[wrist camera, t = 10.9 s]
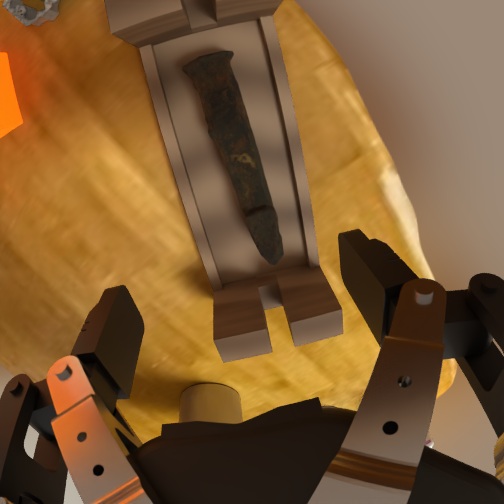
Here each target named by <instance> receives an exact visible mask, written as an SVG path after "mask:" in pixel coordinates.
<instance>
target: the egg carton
mask: <svg viewBox="0 0 504 504" xmlns="http://www.w3.org/2000/svg"><path fill="white" fill-rule="evenodd" d="M41 1H45V3H44V5H45V9H44V10H41V11H39V12H38V13H37V10H36V9H35V8H32V7H28V6H26V5H24V4H22V0H5V1H4V2H3V5H2V6H3V7H5V8H6V9H7V11H9V12H10V13H11V14H12V15H13V16H14V17H16V18H17V20H19V21H20V22H22V23H23V24H24V25H25V26H29V25H30V24H33V25H36V26H40V25H41V24H42V23H44V22H46V21H54V20H55V19H56V17H57V16H58V15H59V12H58V9H57V7H58V4H59V2H60V0H41Z"/></svg>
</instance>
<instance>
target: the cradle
mask: <svg viewBox="0 0 504 504" xmlns="http://www.w3.org/2000/svg"><path fill="white" fill-rule="evenodd" d="M282 1H283V0H104V2H105V7H106V12H107V17H108V22H109V26H110V31H111V34H113V35H115V36H117V37H119V38H121V39H122V40H124V41H126V42H128V43H130V44H132V45H134V46H136V47H138V48H139V50H140V54H141V58H142V62H143V66H144V70H145V74H146V78H147V82H148V85H149V89H150V93H151V97H152V100H153V104H154V108H155V111H156V115H157V118H158V122H159V125H160V129H161V132H162V136H163V139H164V142H165V146H166V149H167V153H168V156H169V159H170V163H171V166H172V169H173V172H174V176H175V179H176V182H177V185H178V188H179V191H180V195H181V198H182V201H183V204H184V207H185V210H186V213H187V216H188V219H189V222H190V225H191V228H192V231H193V234H194V237H195V240H196V243H197V246H198V249H199V252H200V255H201V258H202V261H203V263H204V266H205V269H206V272H207V275H208V278H209V280H210V283H211V286H212V289H213V292H214V303H213V340H214V343H215V345H216V347H217V350H218V352H219V354H220V356H221V359H222V361H223V363H225V362H230V361H235V360H240V359H245V358H249V357H254V356H259V355H263V354H267V353H272V352H273V351H272V346H271V341H270V337H269V332H268V327H267V322H266V317H265V312H264V310H267V309H271V308H276V307H280V306H283V307H284V310H285V314H286V318H287V321H288V325H289V328H290V332H291V335H292V339H293V342H294V346H295V347H297V346H301V345H304V344H308V343H312V342H316V341H320V340H323V339H327V338H330V337H334V336H337V335H341V334H343V315H342V308H341V306H340V304H339V302H338V300H337V298H336V296H335V294H334V292H333V290H332V288H331V286H330V285H329V283H328V281H327V279H326V277H325V275H324V273H323V271H322V269H321V268H320V264H319V256H318V248H317V241H316V234H315V226H314V219H313V213H312V206H311V199H310V193H309V187H308V181H307V175H306V169H305V163H304V157H303V152H302V146H301V141H300V136H299V130H298V125H297V120H296V115H295V110H294V105H293V101H292V96H291V91H290V87H289V82H288V78H287V73H286V69H285V64H284V60H283V56H282V52H281V48H280V44H279V40H278V36H277V32H276V28H275V24H274V20H273V16H272V15H273V14H274V12H275V11H276V10H277V8H278V7H279V5H280V4H281V2H282ZM220 51H233V53H234V55H233V57H232V59H231V61H230V62H231V67H232V70H233V73H234V76H235V78H236V80H237V82H238V84H239V88H240V92H241V95H242V99H243V102H244V105H245V108H246V111H247V114H248V118H249V121H250V125H251V128H252V131H253V134H254V137H255V141H256V145H257V148H258V151H259V154H260V158H261V162H262V166H263V169H264V174H265V178H266V180H267V184H268V188H269V191H270V194H271V198H272V202H273V206H274V208H275V210H276V212H277V216H278V226H279V232H280V234H281V236H282V243H283V250H284V255H283V257H282V258H281V259H280V260H279V262H278V263H277V264H276V265H271V264H269V263H268V262H267V260H265V259H264V257H262V256H261V255H260V253H259V251H258V249H257V247H256V245H255V243H254V241H253V239H252V237H251V235H250V232H249V230H248V227H247V225H246V221H245V216H244V213H243V211H242V210H241V208H240V205H239V202H238V198H237V195H236V192H235V189H234V187H233V185H232V181H231V179H230V176H229V174H228V171H227V169H226V166H225V163H224V161H223V158H222V155H221V152H220V150H219V147H218V145H217V144H216V143H215V141H214V140H213V139H212V138H211V137H210V136H209V134H208V125H207V122H206V120H205V114H204V112H203V107H202V102H201V100H200V96H199V94H198V91H197V90H196V89H195V87H194V84H193V82H192V80H191V79H190V77H189V76H188V75H187V74H185V73H184V72H183V71H182V67H183V66H184V65H186V64H188V63H189V62H190V61H192V60H194V59H196V58H198V57H199V56H203V55H207V54H211V53H216V52H220Z"/></svg>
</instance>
